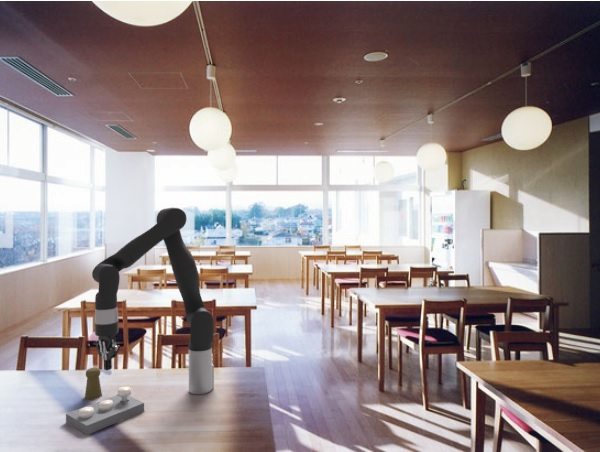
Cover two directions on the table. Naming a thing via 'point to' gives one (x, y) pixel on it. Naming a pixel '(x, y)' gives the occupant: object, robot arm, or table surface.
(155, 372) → the table surface
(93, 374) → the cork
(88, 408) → the knob
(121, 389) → the knob
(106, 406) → the knob middle
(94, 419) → the control board
